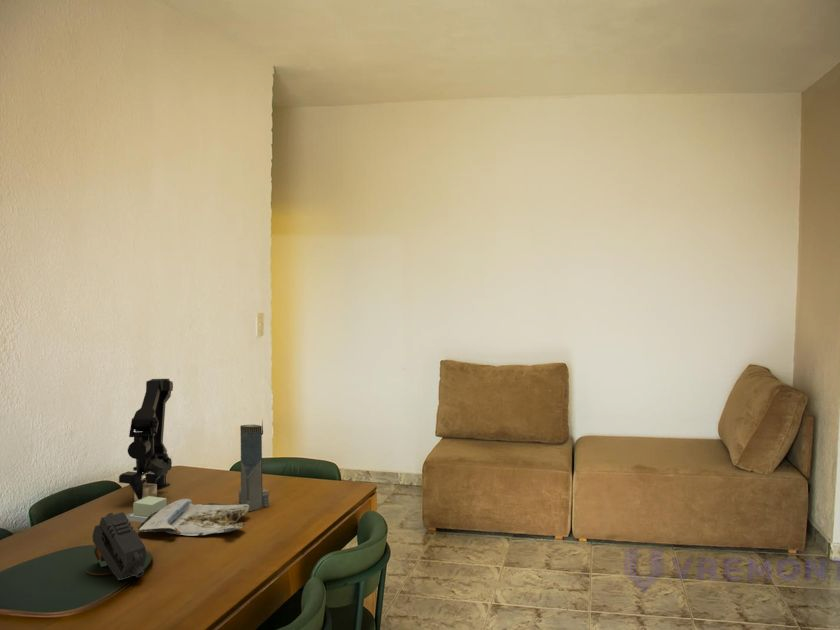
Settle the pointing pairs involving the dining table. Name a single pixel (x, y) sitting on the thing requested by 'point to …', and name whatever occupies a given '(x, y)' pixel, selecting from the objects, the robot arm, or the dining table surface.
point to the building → (252, 468)
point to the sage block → (148, 506)
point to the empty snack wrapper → (195, 518)
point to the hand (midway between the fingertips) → (145, 497)
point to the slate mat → (135, 518)
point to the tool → (119, 546)
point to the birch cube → (148, 491)
